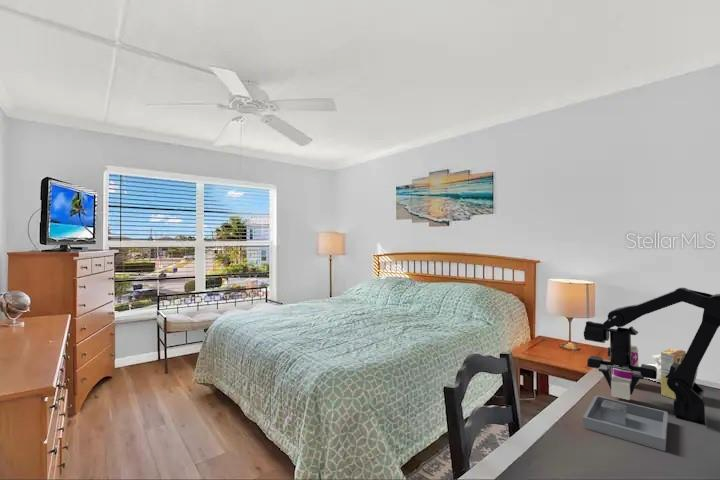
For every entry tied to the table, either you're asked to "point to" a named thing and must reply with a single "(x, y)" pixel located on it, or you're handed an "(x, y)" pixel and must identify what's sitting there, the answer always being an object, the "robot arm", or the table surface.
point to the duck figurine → (658, 366)
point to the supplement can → (626, 373)
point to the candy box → (666, 362)
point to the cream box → (621, 388)
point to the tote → (630, 424)
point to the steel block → (614, 412)
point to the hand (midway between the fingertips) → (621, 392)
